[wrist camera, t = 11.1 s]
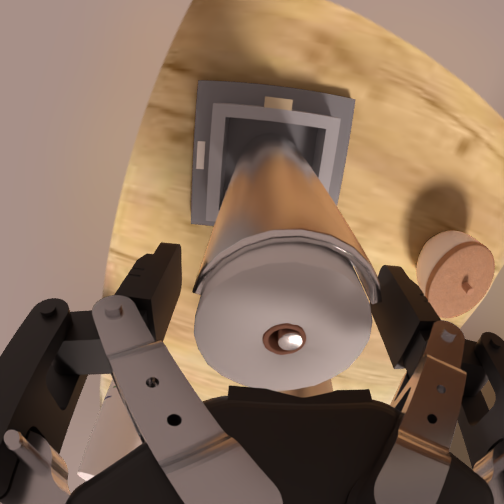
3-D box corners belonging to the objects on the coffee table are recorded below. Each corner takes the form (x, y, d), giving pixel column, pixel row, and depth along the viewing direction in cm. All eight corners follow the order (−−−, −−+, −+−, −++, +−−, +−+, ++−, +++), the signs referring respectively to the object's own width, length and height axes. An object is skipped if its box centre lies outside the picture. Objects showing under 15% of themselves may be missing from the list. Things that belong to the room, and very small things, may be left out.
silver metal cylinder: (278, 203, 33) (303, 416, 11) (227, 171, 31) (152, 356, 10) (313, 155, 30) (429, 314, 8) (261, 120, 29) (262, 197, 7)
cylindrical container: (121, 343, 47) (68, 471, 25) (146, 328, 45) (93, 472, 23) (150, 368, 50) (113, 494, 28) (177, 355, 47) (143, 496, 25)
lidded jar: (406, 223, 35) (440, 261, 27) (470, 213, 34) (509, 244, 26) (402, 291, 40) (427, 335, 32) (461, 277, 39) (490, 315, 31)
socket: (327, 232, 36) (337, 254, 31) (193, 218, 36) (183, 239, 31) (351, 99, 28) (367, 100, 24) (201, 81, 28) (189, 78, 23)
